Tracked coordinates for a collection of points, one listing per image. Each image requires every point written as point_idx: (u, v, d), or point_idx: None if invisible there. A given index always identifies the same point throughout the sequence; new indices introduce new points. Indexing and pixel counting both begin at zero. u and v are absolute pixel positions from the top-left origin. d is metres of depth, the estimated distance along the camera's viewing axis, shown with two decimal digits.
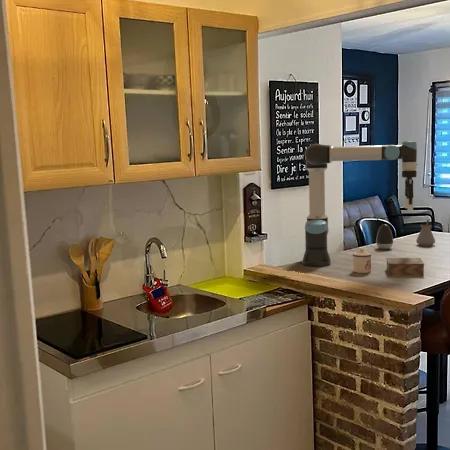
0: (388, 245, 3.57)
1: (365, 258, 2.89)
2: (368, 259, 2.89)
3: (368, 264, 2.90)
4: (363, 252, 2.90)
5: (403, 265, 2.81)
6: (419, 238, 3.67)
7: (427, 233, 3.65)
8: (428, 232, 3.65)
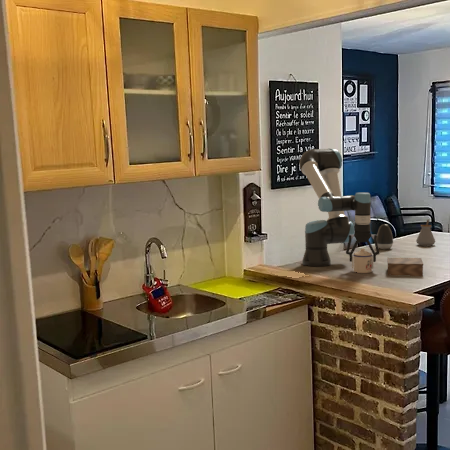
0: (388, 245, 3.57)
1: (366, 258, 2.88)
2: (369, 259, 2.89)
3: (369, 264, 2.89)
4: (364, 252, 2.90)
5: (402, 265, 2.81)
6: (419, 238, 3.67)
7: (427, 233, 3.65)
8: (428, 232, 3.65)
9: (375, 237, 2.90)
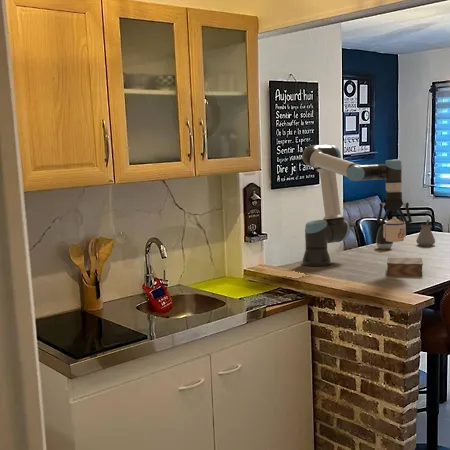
0: (388, 245, 3.57)
1: (398, 226, 2.81)
2: (401, 227, 2.82)
3: (401, 232, 2.82)
4: (396, 220, 2.83)
5: (401, 265, 2.81)
6: (419, 238, 3.67)
7: (427, 233, 3.65)
8: (428, 232, 3.65)
9: (407, 205, 2.83)
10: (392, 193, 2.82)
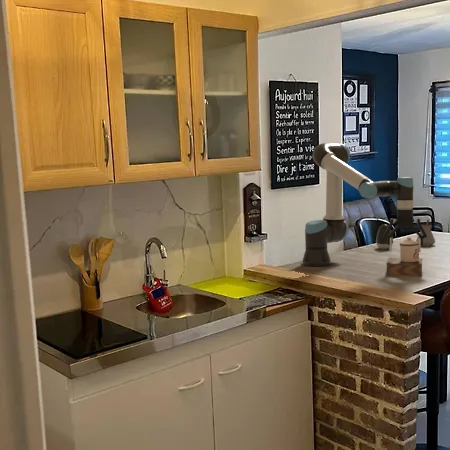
0: (388, 245, 3.57)
1: (413, 247, 2.82)
2: (416, 248, 2.82)
3: (416, 253, 2.82)
4: (410, 241, 2.83)
5: (401, 265, 2.81)
6: None
7: (427, 233, 3.65)
8: (428, 232, 3.65)
9: (418, 221, 2.83)
10: (404, 211, 2.82)
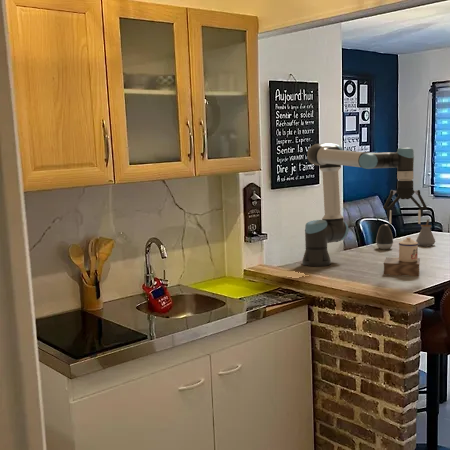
0: (388, 245, 3.57)
1: (411, 247, 2.82)
2: (414, 248, 2.83)
3: (414, 253, 2.83)
4: (409, 241, 2.84)
5: (398, 265, 2.82)
6: (419, 238, 3.67)
7: (427, 233, 3.65)
8: (428, 232, 3.65)
9: (419, 192, 2.82)
10: (404, 182, 2.80)
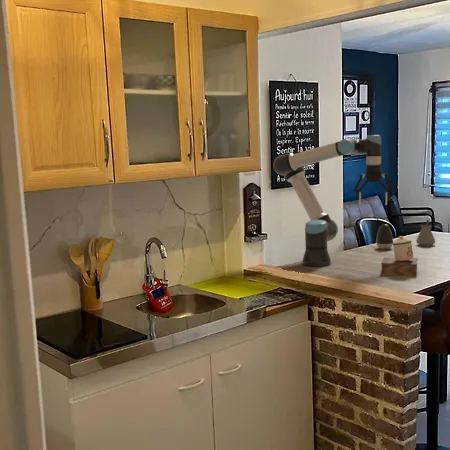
0: (388, 245, 3.57)
1: (406, 245, 2.83)
2: (409, 245, 2.84)
3: (410, 251, 2.84)
4: (403, 239, 2.85)
5: (396, 265, 2.82)
6: (419, 238, 3.67)
7: (427, 233, 3.65)
8: (428, 232, 3.65)
9: (385, 176, 3.07)
10: (372, 166, 3.06)
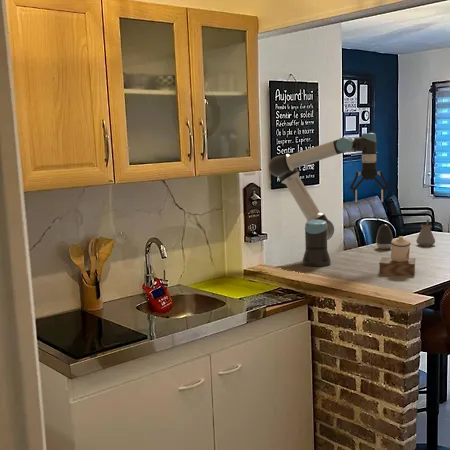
0: (388, 245, 3.57)
1: (407, 247, 2.82)
2: (409, 247, 2.84)
3: (408, 252, 2.85)
4: (404, 241, 2.83)
5: (393, 265, 2.83)
6: (419, 238, 3.67)
7: (427, 233, 3.65)
8: (428, 232, 3.65)
9: (381, 173, 3.11)
10: (367, 163, 3.10)
